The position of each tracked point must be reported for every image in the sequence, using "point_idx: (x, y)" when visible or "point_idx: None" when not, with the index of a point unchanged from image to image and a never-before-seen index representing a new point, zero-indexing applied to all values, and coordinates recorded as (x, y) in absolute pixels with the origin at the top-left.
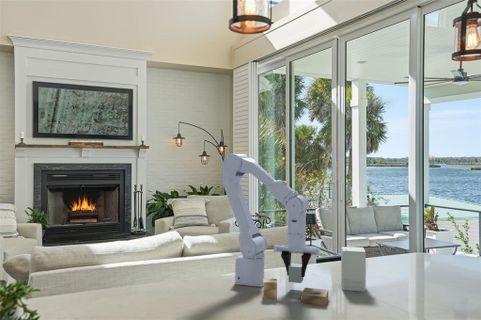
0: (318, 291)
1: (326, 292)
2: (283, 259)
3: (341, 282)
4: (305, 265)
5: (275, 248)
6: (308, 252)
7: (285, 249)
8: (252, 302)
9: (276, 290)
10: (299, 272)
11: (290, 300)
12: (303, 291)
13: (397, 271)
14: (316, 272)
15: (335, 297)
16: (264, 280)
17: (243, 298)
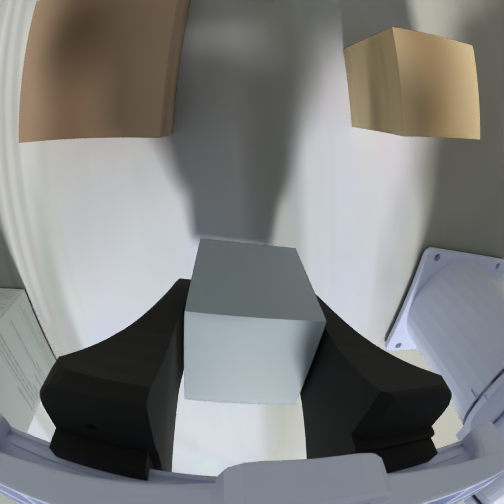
0: (65, 78)
1: (25, 81)
2: (402, 364)
3: (31, 339)
4: (132, 327)
5: (495, 449)
6: (82, 472)
7: (432, 472)
8: (444, 9)
9: (367, 39)
10: (206, 280)
11: (259, 33)
12: (165, 39)
13: None
14: (185, 454)
15: (23, 170)
16: (473, 85)
17: (484, 68)
